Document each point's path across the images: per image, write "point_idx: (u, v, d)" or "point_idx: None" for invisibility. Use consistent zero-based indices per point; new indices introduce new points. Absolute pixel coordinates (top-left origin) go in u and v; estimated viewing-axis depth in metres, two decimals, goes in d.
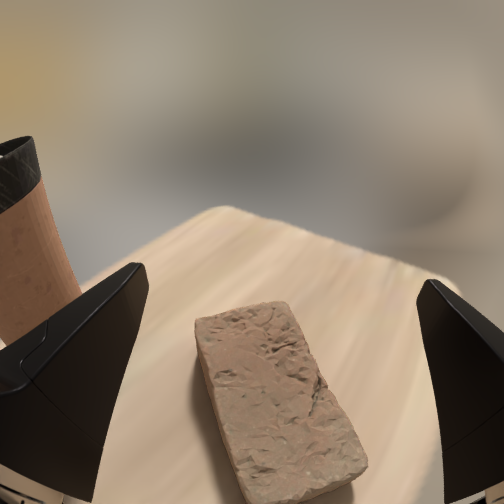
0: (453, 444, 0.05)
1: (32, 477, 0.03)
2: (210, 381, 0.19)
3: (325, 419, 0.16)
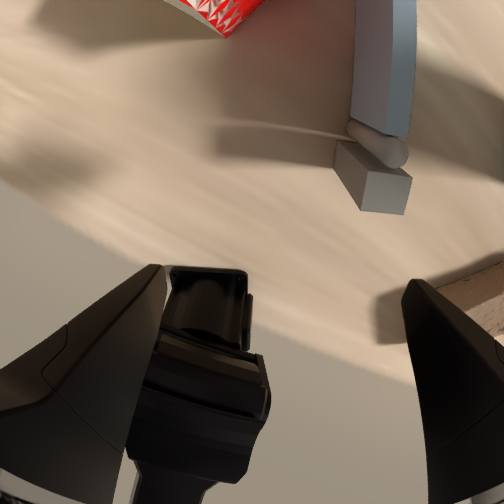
0: (437, 449, 0.05)
1: (55, 490, 0.03)
2: None
3: None
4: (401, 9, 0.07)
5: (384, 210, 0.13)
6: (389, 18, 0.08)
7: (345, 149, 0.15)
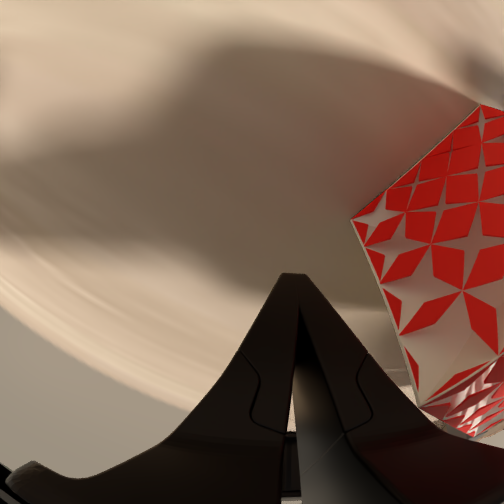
0: (304, 471, 0.05)
1: None
2: None
3: None
4: None
5: None
6: None
7: None
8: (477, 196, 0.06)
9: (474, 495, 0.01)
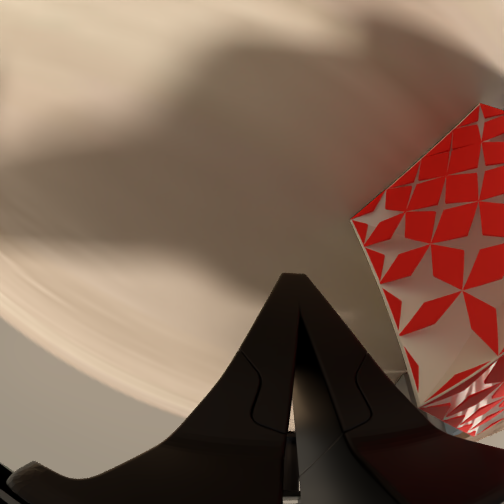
0: (304, 472, 0.05)
1: None
2: None
3: None
4: None
5: None
6: None
7: (410, 399, 0.15)
8: (477, 195, 0.06)
9: (473, 496, 0.01)
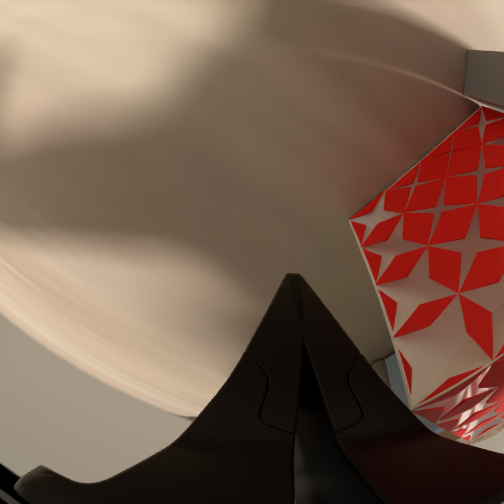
0: (297, 472, 0.05)
1: None
2: None
3: None
4: None
5: None
6: None
7: None
8: (476, 198, 0.06)
9: (462, 501, 0.01)
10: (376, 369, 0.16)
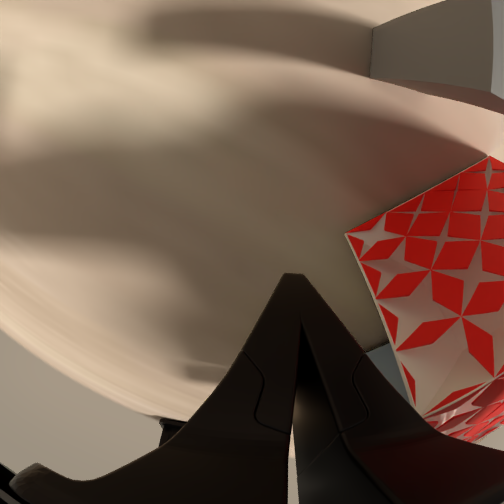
0: (301, 472, 0.05)
1: None
2: None
3: None
4: None
5: None
6: None
7: None
8: (479, 235, 0.07)
9: (469, 498, 0.01)
10: None
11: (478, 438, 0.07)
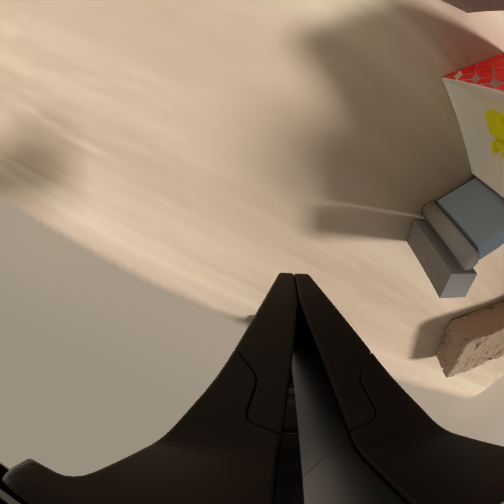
0: (307, 471, 0.05)
1: None
2: None
3: (477, 363, 0.26)
4: None
5: (454, 295, 0.15)
6: None
7: (425, 236, 0.18)
8: None
9: (478, 494, 0.01)
10: (431, 206, 0.18)
11: None
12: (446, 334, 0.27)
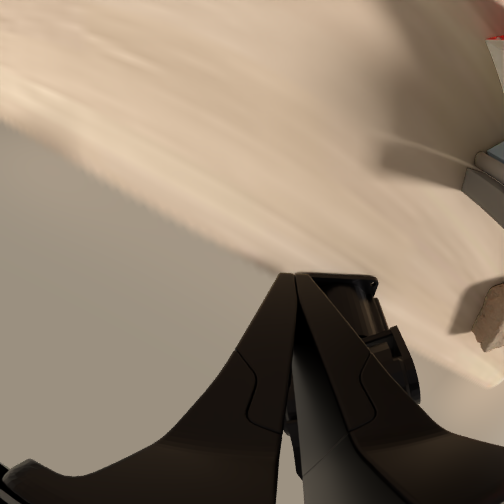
0: (307, 471, 0.05)
1: None
2: None
3: None
4: None
5: None
6: None
7: (483, 179, 0.15)
8: None
9: (478, 493, 0.01)
10: (483, 154, 0.15)
11: None
12: (486, 303, 0.24)
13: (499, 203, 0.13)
